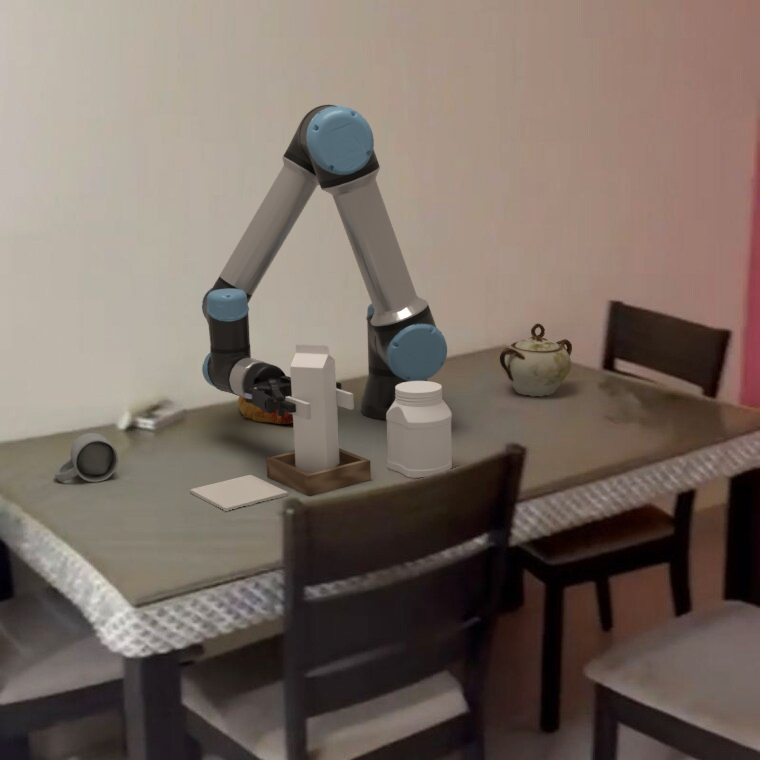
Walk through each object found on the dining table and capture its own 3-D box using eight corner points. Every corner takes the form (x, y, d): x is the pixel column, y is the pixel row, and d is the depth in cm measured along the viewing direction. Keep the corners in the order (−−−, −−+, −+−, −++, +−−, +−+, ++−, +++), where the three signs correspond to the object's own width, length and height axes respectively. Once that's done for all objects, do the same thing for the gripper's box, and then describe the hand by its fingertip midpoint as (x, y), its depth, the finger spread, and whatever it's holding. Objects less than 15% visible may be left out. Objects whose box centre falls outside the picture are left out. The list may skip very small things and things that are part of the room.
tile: (250, 477, 219) (250, 474, 219) (288, 495, 210) (287, 492, 210) (190, 492, 212) (189, 489, 212) (226, 511, 203) (225, 508, 203)
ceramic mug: (111, 465, 228) (107, 425, 226) (120, 478, 220) (116, 437, 218) (52, 475, 224) (47, 434, 222) (59, 489, 216) (54, 446, 214)
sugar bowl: (548, 378, 283) (549, 313, 279) (593, 391, 271) (595, 323, 267) (478, 391, 273) (478, 324, 269) (522, 406, 261) (523, 336, 257)
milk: (308, 461, 222) (301, 340, 216) (340, 463, 220) (334, 341, 214) (295, 472, 216) (288, 347, 211) (328, 474, 214) (322, 349, 209)
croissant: (230, 424, 264) (213, 395, 261) (265, 395, 269) (248, 366, 265) (287, 445, 248) (269, 414, 244) (322, 413, 252) (305, 383, 248)
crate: (327, 461, 227) (327, 443, 226) (370, 479, 217) (370, 460, 216) (267, 476, 220) (266, 457, 219) (308, 496, 210) (308, 476, 209)
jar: (379, 465, 225) (377, 384, 221) (421, 455, 230) (420, 376, 226) (417, 481, 216) (416, 397, 212) (460, 470, 221) (460, 388, 217)
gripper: (307, 391, 236) (380, 415, 218) (210, 412, 224) (279, 440, 206) (305, 352, 234) (379, 374, 216) (207, 372, 222) (277, 396, 204)
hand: (330, 406), depth 211 cm, fingers closed on milk, 8 cm apart
